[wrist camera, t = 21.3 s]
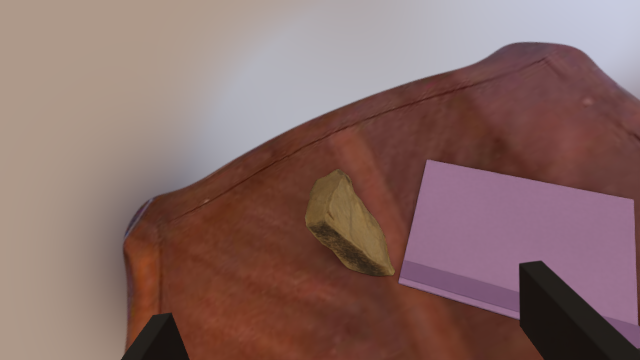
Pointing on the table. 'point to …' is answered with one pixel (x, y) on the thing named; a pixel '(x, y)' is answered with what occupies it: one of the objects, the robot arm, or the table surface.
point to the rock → (347, 226)
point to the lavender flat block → (520, 242)
